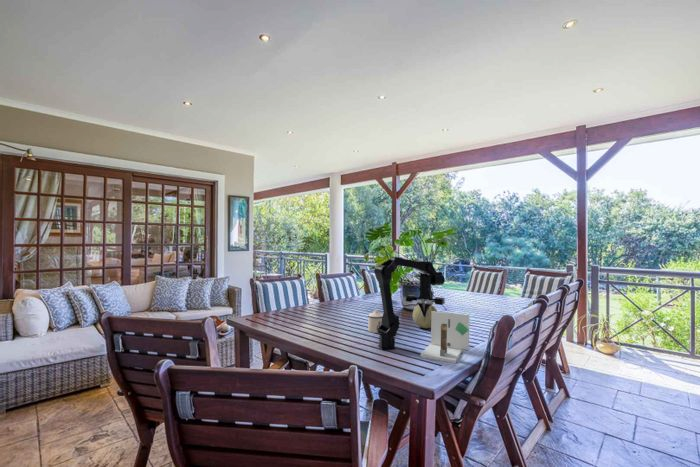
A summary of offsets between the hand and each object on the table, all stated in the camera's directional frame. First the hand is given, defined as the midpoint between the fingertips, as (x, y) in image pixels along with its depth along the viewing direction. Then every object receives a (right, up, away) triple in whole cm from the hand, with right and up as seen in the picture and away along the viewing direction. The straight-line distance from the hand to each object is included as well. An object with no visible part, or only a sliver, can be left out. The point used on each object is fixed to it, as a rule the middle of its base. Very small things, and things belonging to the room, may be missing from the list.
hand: (424, 316), depth 175 cm
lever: (+4, -10, -22) cm, 24 cm away
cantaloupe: (+6, -14, +29) cm, 32 cm away
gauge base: (+6, -13, -18) cm, 23 cm away
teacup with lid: (-23, -13, +21) cm, 33 cm away
